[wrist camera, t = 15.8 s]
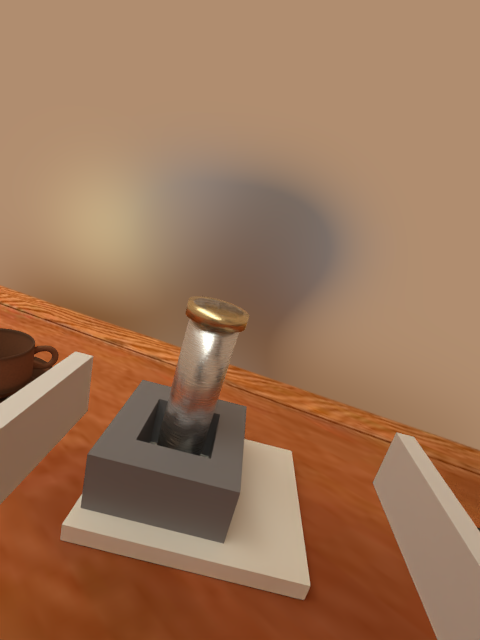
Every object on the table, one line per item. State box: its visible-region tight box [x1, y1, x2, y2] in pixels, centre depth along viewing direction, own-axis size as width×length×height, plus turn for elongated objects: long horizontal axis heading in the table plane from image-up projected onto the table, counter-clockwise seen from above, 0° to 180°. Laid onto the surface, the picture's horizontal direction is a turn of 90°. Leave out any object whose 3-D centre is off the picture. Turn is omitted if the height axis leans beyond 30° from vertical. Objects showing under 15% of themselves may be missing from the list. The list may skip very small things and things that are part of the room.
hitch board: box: [60, 380, 310, 600], centre depth 29 cm, size 18×14×6 cm
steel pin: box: [157, 296, 249, 456], centre depth 27 cm, size 5×5×16 cm
